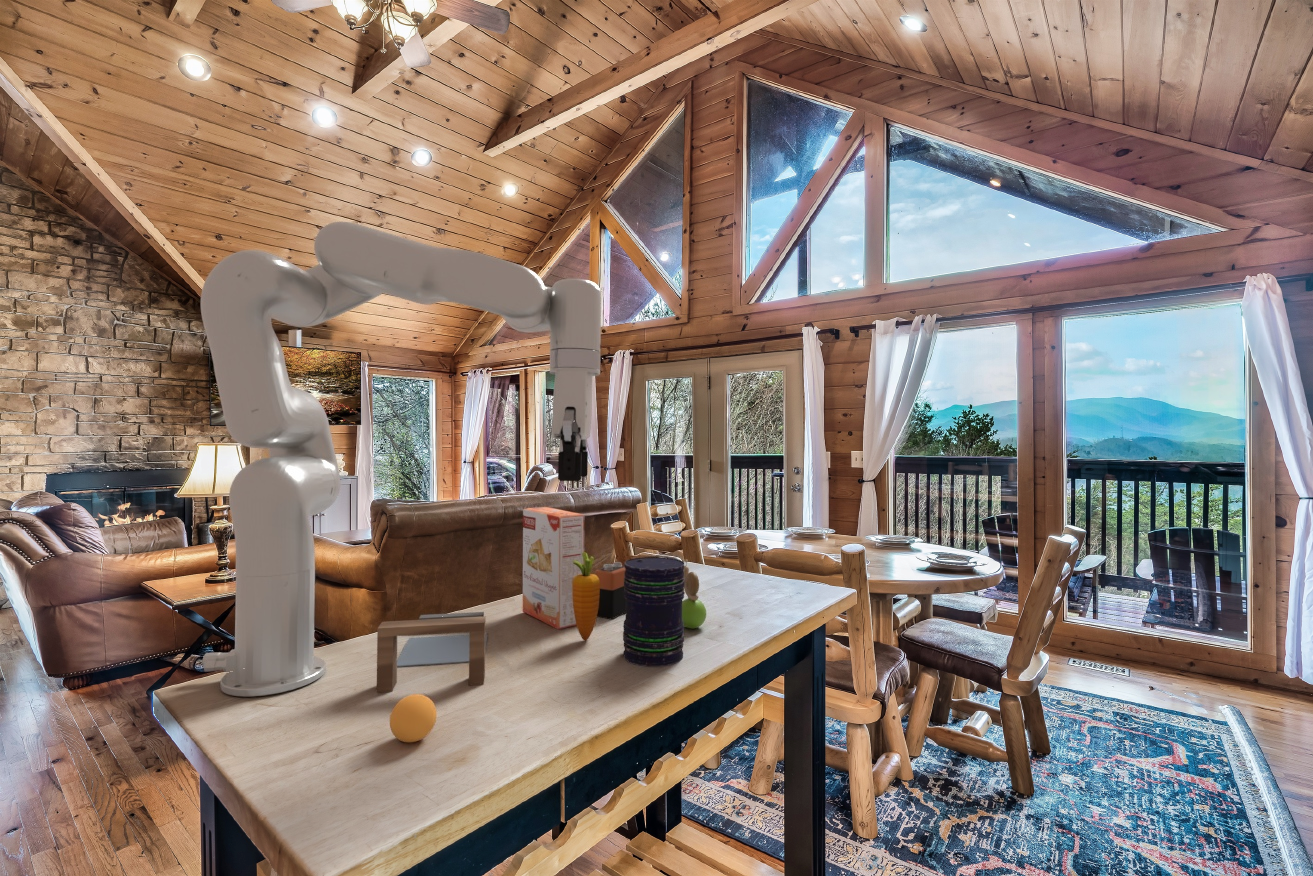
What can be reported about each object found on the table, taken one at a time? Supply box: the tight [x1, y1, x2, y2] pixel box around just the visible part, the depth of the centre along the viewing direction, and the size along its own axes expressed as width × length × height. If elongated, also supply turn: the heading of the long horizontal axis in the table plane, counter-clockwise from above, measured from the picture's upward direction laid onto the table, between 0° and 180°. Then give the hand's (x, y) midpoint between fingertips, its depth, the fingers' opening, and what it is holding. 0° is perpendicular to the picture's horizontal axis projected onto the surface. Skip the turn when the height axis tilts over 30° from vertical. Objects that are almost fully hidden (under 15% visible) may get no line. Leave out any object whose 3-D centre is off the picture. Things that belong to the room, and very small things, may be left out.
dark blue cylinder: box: [622, 556, 686, 668], centre depth 97 cm, size 10×10×15 cm
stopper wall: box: [418, 611, 485, 620], centre depth 109 cm, size 11×2×2 cm, turn 103°
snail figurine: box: [681, 559, 707, 629], centre depth 112 cm, size 5×6×12 cm
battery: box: [594, 561, 626, 620], centre depth 119 cm, size 4×7×10 cm, turn 151°
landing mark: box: [397, 632, 489, 668], centre depth 98 cm, size 13×13×1 cm
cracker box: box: [522, 506, 585, 630], centre depth 116 cm, size 14×6×21 cm, turn 40°
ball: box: [389, 693, 438, 743], centre depth 69 cm, size 5×5×5 cm
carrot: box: [572, 551, 600, 642], centre depth 103 cm, size 5×5×15 cm
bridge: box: [376, 615, 487, 693], centre depth 84 cm, size 3×14×9 cm, turn 103°
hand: (573, 478), depth 90 cm, fingers open, 9 cm apart
